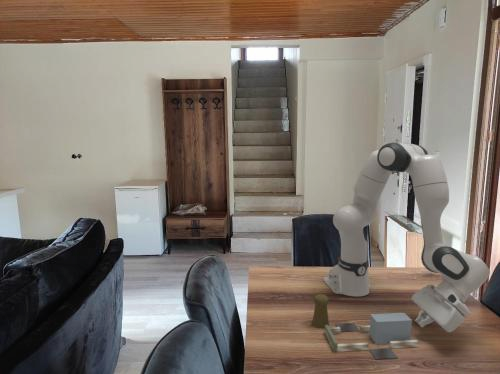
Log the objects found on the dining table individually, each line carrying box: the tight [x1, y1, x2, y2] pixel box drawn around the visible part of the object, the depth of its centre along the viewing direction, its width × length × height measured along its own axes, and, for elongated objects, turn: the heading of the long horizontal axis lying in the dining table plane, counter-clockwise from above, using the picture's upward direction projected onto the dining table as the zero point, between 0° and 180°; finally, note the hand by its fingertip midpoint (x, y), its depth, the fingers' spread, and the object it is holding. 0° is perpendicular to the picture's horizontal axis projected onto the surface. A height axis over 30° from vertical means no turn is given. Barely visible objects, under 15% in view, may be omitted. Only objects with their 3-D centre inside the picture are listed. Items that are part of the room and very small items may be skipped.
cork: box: [311, 293, 330, 329], centre depth 132 cm, size 6×6×11 cm
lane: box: [324, 322, 419, 360], centre depth 122 cm, size 28×21×3 cm
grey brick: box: [369, 312, 413, 345], centre depth 122 cm, size 12×5×8 cm, turn 95°
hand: (418, 324), depth 123 cm, fingers closed
